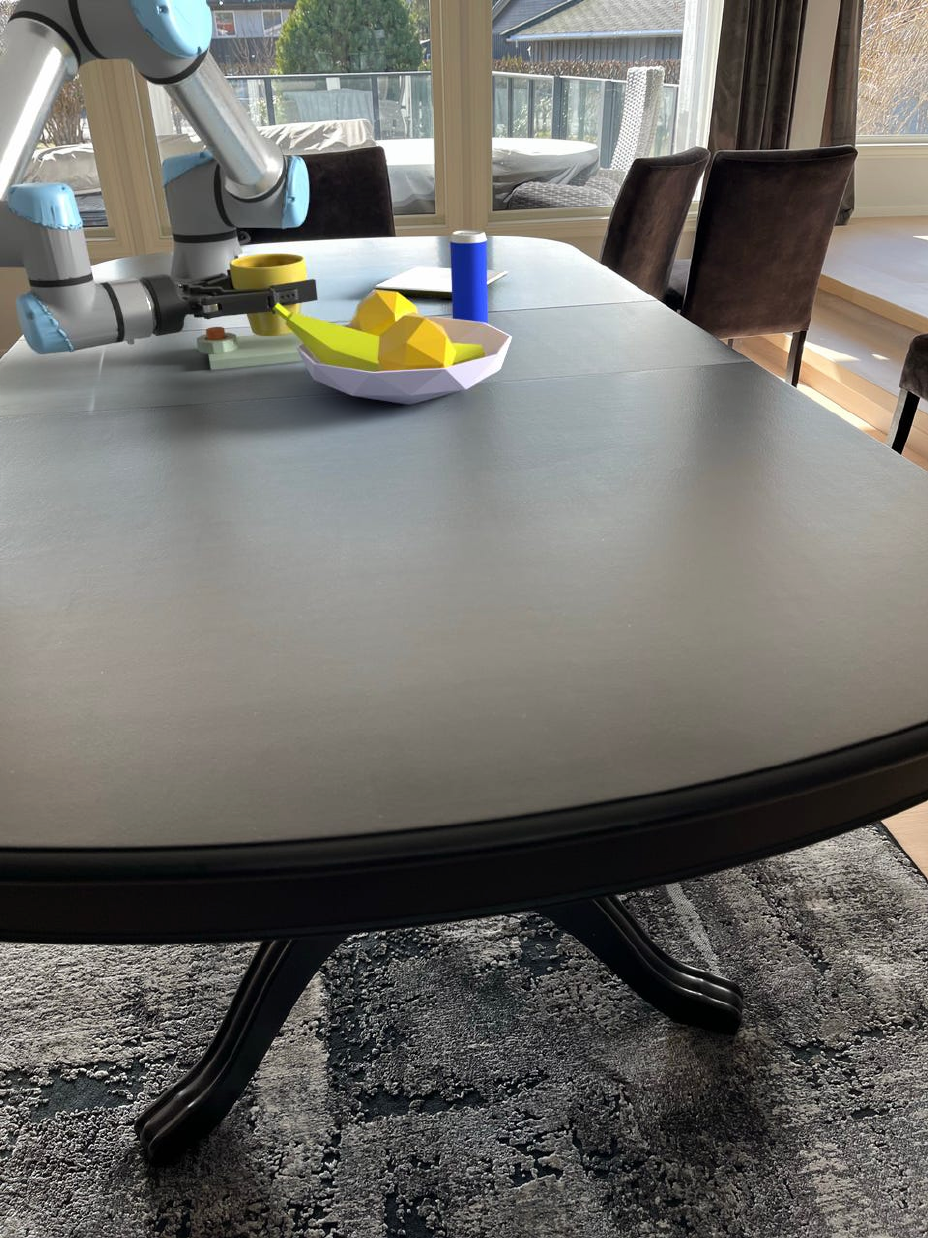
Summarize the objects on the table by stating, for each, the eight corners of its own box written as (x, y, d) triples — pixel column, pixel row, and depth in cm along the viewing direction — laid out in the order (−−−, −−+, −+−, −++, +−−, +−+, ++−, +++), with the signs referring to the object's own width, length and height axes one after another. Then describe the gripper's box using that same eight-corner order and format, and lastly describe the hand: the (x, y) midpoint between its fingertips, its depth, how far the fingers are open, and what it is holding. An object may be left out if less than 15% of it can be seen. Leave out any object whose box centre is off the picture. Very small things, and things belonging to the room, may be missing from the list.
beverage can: (492, 336, 142) (491, 230, 134) (481, 345, 137) (479, 235, 130) (460, 334, 143) (457, 229, 135) (448, 343, 139) (444, 235, 131)
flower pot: (297, 340, 131) (289, 266, 126) (227, 339, 132) (216, 265, 128) (322, 323, 139) (314, 253, 134) (256, 321, 141) (247, 252, 136)
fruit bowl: (524, 361, 130) (525, 275, 124) (483, 427, 107) (482, 326, 101) (332, 354, 135) (324, 272, 130) (255, 416, 113) (241, 319, 107)
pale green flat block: (198, 349, 140) (195, 329, 139) (314, 338, 144) (312, 318, 142) (201, 371, 130) (197, 349, 129) (325, 358, 134) (323, 337, 132)
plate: (373, 297, 167) (373, 285, 166) (417, 277, 182) (417, 266, 181) (471, 304, 161) (471, 291, 160) (508, 282, 176) (508, 270, 174)
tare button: (207, 338, 135) (205, 327, 134) (225, 336, 136) (223, 325, 135) (207, 342, 133) (205, 331, 132) (226, 341, 134) (224, 330, 133)
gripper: (123, 321, 134) (266, 297, 145) (183, 353, 118) (338, 324, 129) (112, 265, 130) (259, 246, 141) (171, 291, 114) (333, 266, 125)
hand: (297, 283), depth 135 cm, fingers closed on flower pot, 10 cm apart
